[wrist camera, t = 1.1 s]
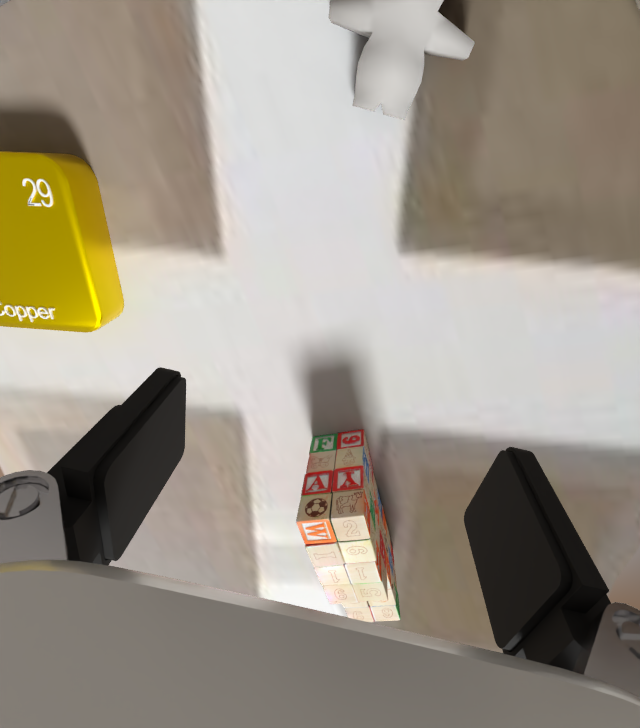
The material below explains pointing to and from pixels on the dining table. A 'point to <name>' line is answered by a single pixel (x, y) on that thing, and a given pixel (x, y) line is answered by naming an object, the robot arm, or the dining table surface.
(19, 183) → the element tile
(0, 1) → the grey square tray
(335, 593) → the stack of blocks
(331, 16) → the bunny figurine
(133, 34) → the dining table surface
